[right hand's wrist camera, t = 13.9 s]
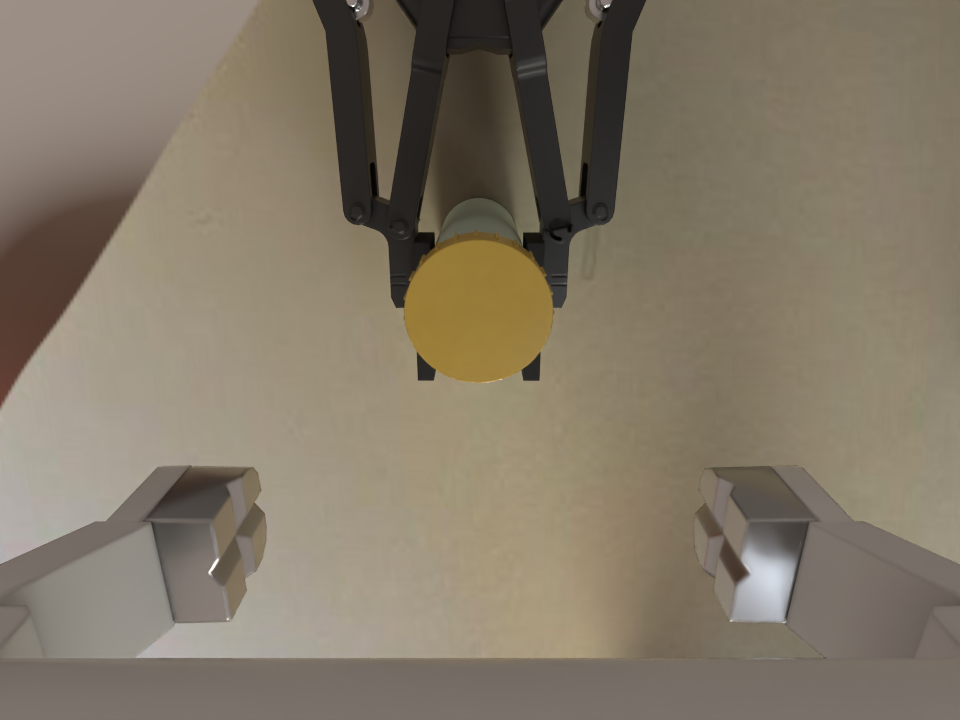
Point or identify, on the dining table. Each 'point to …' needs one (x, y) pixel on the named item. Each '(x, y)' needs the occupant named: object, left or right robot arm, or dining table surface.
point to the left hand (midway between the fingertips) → (478, 368)
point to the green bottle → (479, 220)
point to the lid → (478, 307)
